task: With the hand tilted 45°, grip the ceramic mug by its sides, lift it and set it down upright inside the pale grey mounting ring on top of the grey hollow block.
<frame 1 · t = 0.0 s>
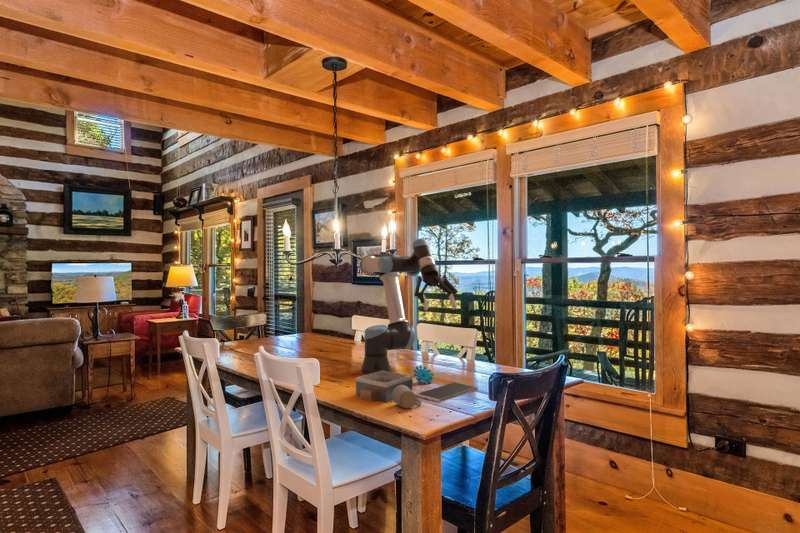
hand: (441, 308, 203), 36 cm above the table, tool tilted 35°, fingers open, 13 cm apart
ceramic mug: (407, 406, 183), on the table
gear: (424, 383, 219), on the table
grey flat slab: (447, 394, 201), on the table
grey hollow block: (384, 394, 200), on the table
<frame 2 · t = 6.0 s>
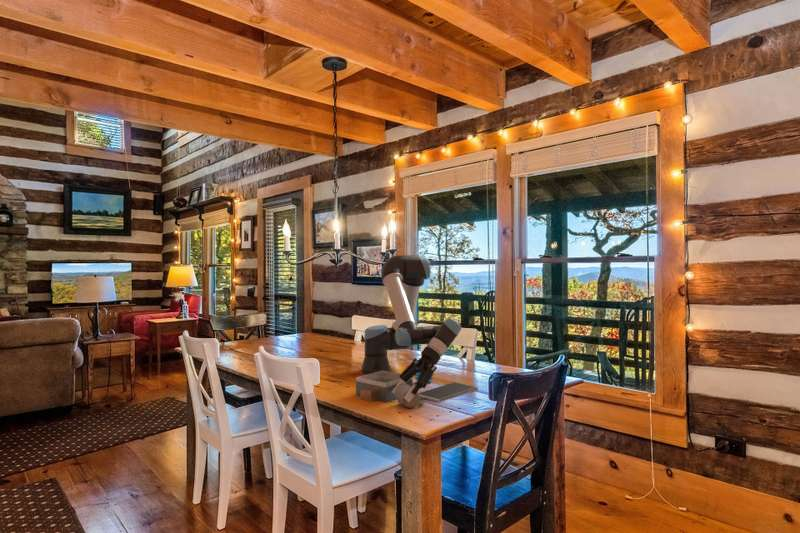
hand: (400, 397, 182), 4 cm above the table, tool tilted 45°, fingers closed on ceramic mug, 9 cm apart
ceramic mug: (410, 405, 184), on the table, touching gripper
when the fingers open (11 cm above the table, at t = 10.5 s): ceramic mug drops 1 cm, resting on grey hollow block.
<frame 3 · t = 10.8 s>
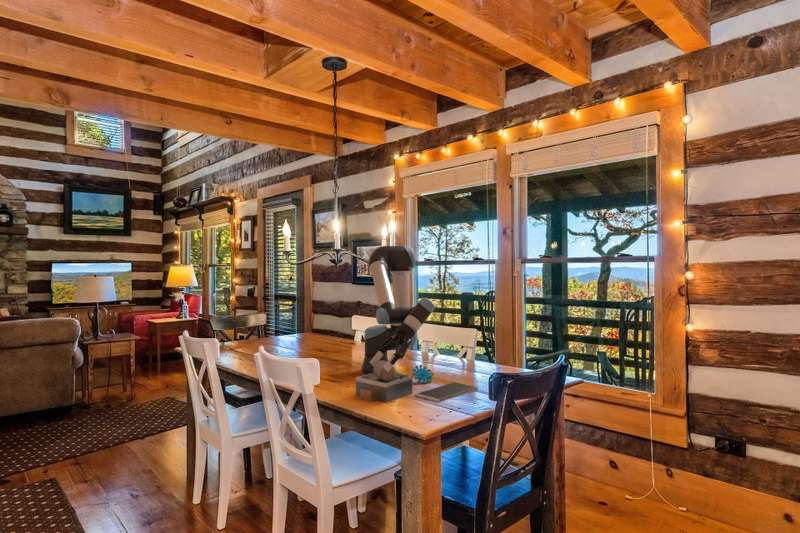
hand: (378, 367, 199), 12 cm above the table, tool tilted 45°, fingers open, 11 cm apart
ceramic mug: (387, 380, 201), point 6 cm above the table, touching grey hollow block
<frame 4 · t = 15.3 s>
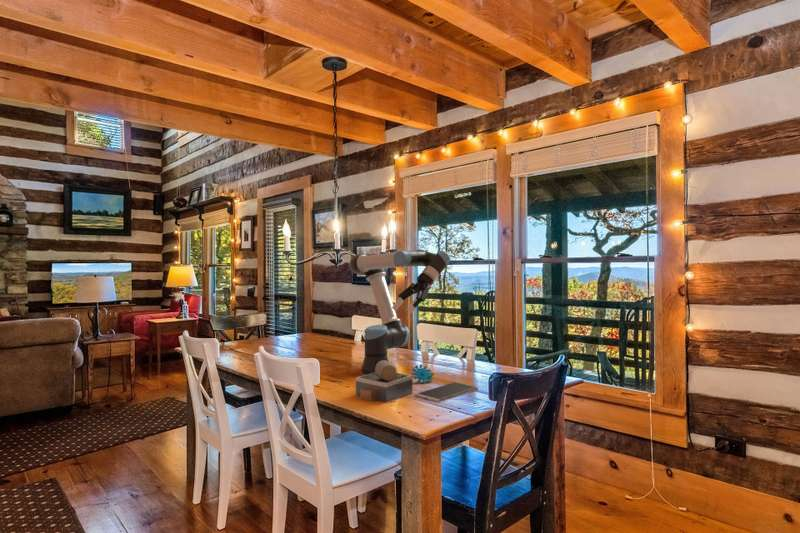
hand: (400, 310, 218), 34 cm above the table, tool tilted 45°, fingers open, 13 cm apart
at the end: ceramic mug inside the target area on the grey hollow block (2.3 cm from its centre), point 5.8 cm above the grey hollow block's base; ceramic mug tilted 0°; the gripper is holding nothing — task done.
